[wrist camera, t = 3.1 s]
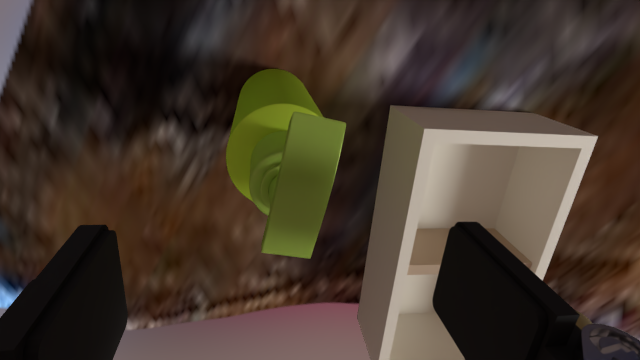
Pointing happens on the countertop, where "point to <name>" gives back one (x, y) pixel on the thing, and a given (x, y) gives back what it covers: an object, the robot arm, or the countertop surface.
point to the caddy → (459, 211)
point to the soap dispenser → (284, 159)
